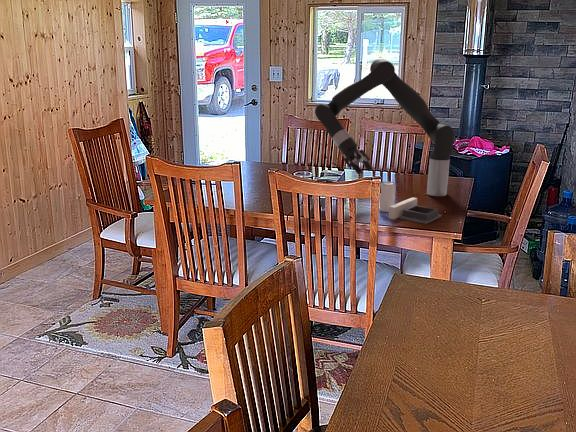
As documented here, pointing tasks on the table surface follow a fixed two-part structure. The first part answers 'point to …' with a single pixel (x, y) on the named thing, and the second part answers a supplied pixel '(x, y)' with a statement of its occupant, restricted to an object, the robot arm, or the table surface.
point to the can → (387, 196)
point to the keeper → (420, 214)
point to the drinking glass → (321, 198)
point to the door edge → (401, 207)
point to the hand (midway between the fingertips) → (365, 171)
